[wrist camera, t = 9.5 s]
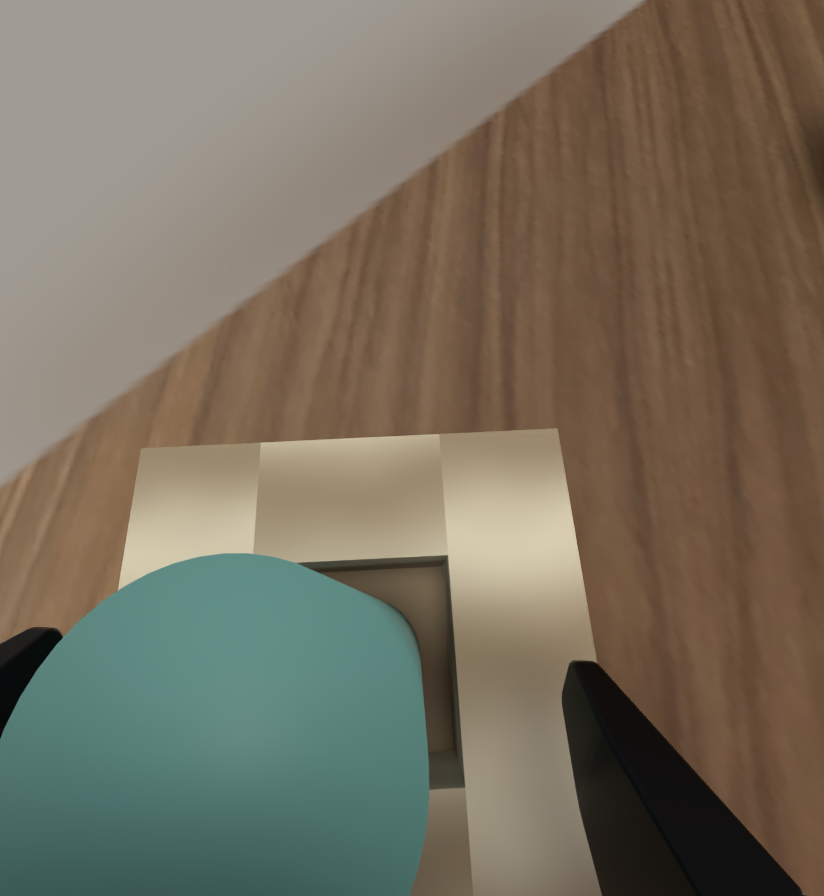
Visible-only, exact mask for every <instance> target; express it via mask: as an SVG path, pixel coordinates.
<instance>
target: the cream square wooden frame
mask: <svg viewBox="0 0 824 896" xmlns="http://www.w3.org/2000/svg"><path fill="white" fill-rule="evenodd" d="M222 553H250V554H258V555H265V556H273V557H276V558H280V559H283V560H287V561H291V562H294V563H297V564H300V565H302V566H304V567H306V568H309V569H311V570H313V571H316V572H318V573H320V574H322V575H325V576H327V577H329V578H331V579H334V580H336V581H338V582H341V583H343V584H345V585H347V586H350V587H352V588H354V589H356V590H359V591H361V592H363V593H366V594H368V595H370V596H372V597H375V598H377V599H379V600H381V601H384V602H386V603H388V604H390V605H392V606H394V607H395V608H397V609H398V610H399V611H400V612H401V613H402V614H403V615H404V616H405V617H406V618H407V619H408V621H409V622H410V624H411V625H412V627H413V629H414V631H415V633H416V636H417V639H418V643H419V648H420V658H421V671H422V683H423V696H424V708H425V721H426V733H427V746H428V759H429V804H428V815H427V825H426V834H425V839H424V843H423V848H422V853H421V858H420V863H419V867H418V871H417V874H416V877H415V880H414V883H413V887H412V890H411V893H410V896H602V894H601V890H600V887H599V883H598V879H597V875H596V871H595V868H594V864H593V860H592V856H591V852H590V849H589V845H588V841H587V837H586V833H585V830H584V826H583V822H582V818H581V813H580V809H579V805H578V799H577V794H576V788H575V782H574V776H573V770H572V764H571V758H570V752H569V746H568V739H567V733H566V727H565V721H564V715H563V709H562V690H563V685H564V681H565V677H566V673H567V669H568V666H569V663H570V662H571V661H572V660H588V661H594V662H596V663H597V659H596V653H595V647H594V641H593V635H592V629H591V624H590V618H589V612H588V606H587V600H586V594H585V588H584V582H583V576H582V571H581V565H580V559H579V553H578V547H577V541H576V535H575V529H574V523H573V518H572V512H571V506H570V500H569V494H568V488H567V482H566V476H565V470H564V465H563V459H562V453H561V447H560V441H559V435H558V429H536V430H516V431H495V432H474V433H453V434H432V435H412V436H391V437H370V438H349V439H328V440H307V441H287V442H266V443H245V444H224V445H203V446H183V447H162V448H141V453H140V459H139V465H138V471H137V477H136V483H135V489H134V496H133V502H132V508H131V514H130V520H129V526H128V532H127V538H126V545H125V551H124V557H123V563H122V569H121V575H120V581H119V587H118V590H120V589H121V588H123V587H124V586H126V585H128V584H130V583H132V582H133V581H135V580H137V579H139V578H141V577H143V576H144V575H146V574H148V573H151V572H153V571H156V570H158V569H161V568H163V567H166V566H168V565H171V564H173V563H177V562H180V561H184V560H188V559H192V558H196V557H200V556H207V555H215V554H222Z"/></svg>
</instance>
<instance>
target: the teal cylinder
mask: <svg viewBox="0 0 824 896" xmlns="http://www.w3.org/2000/svg"><path fill="white" fill-rule="evenodd" d="M428 804H429V759H428V746H427V733H426V721H425V708H424V696H423V683H422V671H421V658H420V648H419V643H418V639H417V636H416V633H415V631H414V629H413V627H412V625H411V624H410V622H409V621H408V619H407V618H406V617H405V616H404V615H403V614H402V613H401V612H400V611H399V610H398V609H397V608H395V607H394V606H392V605H390V604H388V603H386V602H384V601H381V600H379V599H377V598H375V597H372V596H370V595H368V594H366V593H363V592H361V591H359V590H356V589H354V588H352V587H350V586H347V585H345V584H343V583H341V582H338V581H336V580H334V579H331V578H329V577H327V576H325V575H322V574H320V573H318V572H316V571H313V570H311V569H309V568H306V567H304V566H302V565H300V564H297V563H294V562H291V561H287V560H283V559H280V558H276V557H273V556H265V555H258V554H250V553H222V554H215V555H207V556H200V557H196V558H192V559H188V560H184V561H180V562H177V563H173V564H171V565H168V566H166V567H163V568H161V569H158V570H156V571H153V572H151V573H148V574H146V575H144V576H143V577H141V578H139V579H137V580H135V581H133V582H132V583H130V584H128V585H126V586H124V587H123V588H121V589H120V590H118V591H117V592H115V593H114V594H113V595H111V596H110V597H108V598H107V599H105V600H104V601H102V602H101V603H100V604H99V605H97V606H96V607H95V608H94V609H93V610H92V611H90V612H89V613H88V614H87V615H86V616H85V617H83V618H82V619H81V620H80V621H79V622H78V623H77V624H76V625H75V626H74V627H73V628H72V629H71V630H70V631H69V632H68V633H67V634H66V635H65V636H64V637H63V639H62V640H61V641H60V642H59V643H58V644H57V645H56V646H55V647H54V649H53V650H52V651H51V653H50V654H49V655H48V657H47V658H46V659H45V660H44V662H43V663H42V664H41V666H40V667H39V668H38V669H37V671H36V672H35V674H34V676H33V677H32V679H31V680H30V682H29V684H28V685H27V687H26V688H25V690H24V692H23V693H22V695H21V696H20V698H19V700H18V702H17V704H16V706H15V708H14V710H13V712H12V714H11V716H10V718H9V720H8V722H7V724H6V726H5V728H4V731H3V733H2V736H1V739H0V896H410V893H411V890H412V887H413V883H414V880H415V877H416V874H417V871H418V867H419V863H420V858H421V853H422V848H423V843H424V839H425V834H426V825H427V815H428Z"/></svg>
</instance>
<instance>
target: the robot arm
mask: <svg viewBox="0 0 824 896" xmlns="http://www.w3.org/2000/svg"><path fill="white" fill-rule="evenodd" d="M62 639H63V635H62V633H61V632H60V630H58V629H56V628H48V627H33V628H30V629H27V630H25V631H23V632H22V633H20V634H18V635H16V636H14V637H12V638H10V639H9V640H7V641H5V642H3V643H1V644H0V739H1V736H2V733H3V731H4V728H5V726H6V724H7V722H8V720H9V718H10V716H11V714H12V712H13V710H14V708H15V706H16V704H17V702H18V700H19V698H20V696H21V695H22V693H23V692H24V690H25V688H26V687H27V685H28V684H29V682H30V680H31V679H32V677H33V676H34V674H35V672H36V671H37V669H38V668H39V667H40V666H41V664H42V663H43V662H44V660H45V659H46V658H47V657H48V655H49V654H50V653H51V651H52V650H53V649H54V647H55V646H56V645H57V644H58V643H59V642H60V641H61V640H62ZM562 709H563V715H564V721H565V727H566V733H567V739H568V746H569V752H570V758H571V764H572V770H573V776H574V782H575V788H576V794H577V799H578V805H579V809H580V813H581V818H582V822H583V826H584V830H585V833H586V837H587V841H588V845H589V849H590V852H591V856H592V860H593V864H594V868H595V871H596V875H597V879H598V883H599V887H600V890H601V894H602V896H803V895H802V891H801V889H800V887H799V886H798V885H797V884H796V883H795V882H794V881H793V879H792V878H791V877H790V876H789V875H788V874H787V873H786V872H785V871H784V869H783V868H782V867H781V866H780V865H779V864H778V863H777V862H776V861H775V860H774V858H773V857H772V856H771V855H770V854H769V853H768V852H767V851H766V850H765V848H764V847H763V846H762V845H761V844H760V843H759V842H758V841H757V840H756V838H755V837H754V836H753V835H752V834H751V833H750V832H749V831H748V830H747V828H746V827H745V826H744V825H743V824H742V823H741V822H740V821H739V820H738V819H737V817H736V816H735V815H734V814H733V813H732V812H731V811H730V810H729V809H728V807H727V806H726V805H725V804H724V803H723V802H722V801H721V800H720V799H719V797H718V796H717V795H716V794H715V793H714V792H713V791H712V790H711V789H710V787H709V786H708V785H707V784H706V783H705V782H704V781H703V780H702V779H701V778H700V776H699V775H698V774H697V773H696V772H695V771H694V770H693V769H692V768H691V766H690V765H689V764H688V763H687V762H686V761H685V760H684V759H683V758H682V756H681V755H680V754H679V753H678V752H677V751H676V750H675V749H674V748H673V746H672V745H671V744H670V743H669V742H668V741H667V740H666V739H665V738H664V737H663V735H662V734H661V733H660V732H659V731H658V730H657V729H656V728H655V727H654V725H653V724H652V723H651V722H650V721H649V720H648V719H647V718H646V717H645V715H644V714H643V713H642V712H641V711H640V710H639V709H638V708H637V707H636V705H635V704H634V703H633V702H632V701H631V700H630V699H629V698H628V697H627V696H626V694H625V693H624V692H623V691H622V690H621V689H620V688H619V687H618V686H617V684H616V683H615V682H614V681H613V680H612V679H611V678H610V677H609V676H608V674H607V673H606V672H605V671H604V670H603V669H602V668H601V667H600V666H599V665H598V664H597V663H596V662H594V661H588V660H572V661H571V662H570V663H569V666H568V669H567V673H566V677H565V681H564V685H563V690H562ZM804 896H805V895H804Z"/></svg>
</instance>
